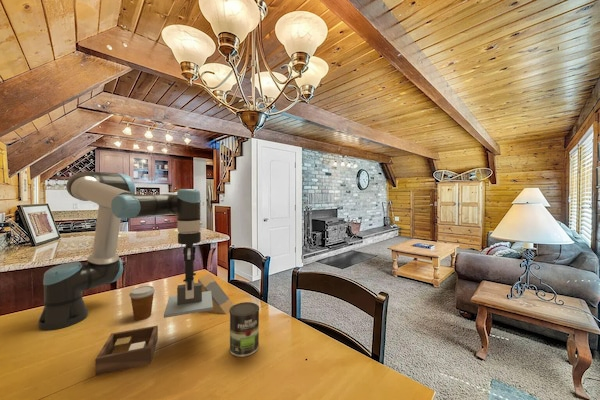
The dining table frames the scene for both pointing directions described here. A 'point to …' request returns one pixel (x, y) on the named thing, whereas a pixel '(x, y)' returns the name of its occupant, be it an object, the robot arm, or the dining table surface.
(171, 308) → the lid
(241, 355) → the coffee can
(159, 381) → the dining table surface
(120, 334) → the box
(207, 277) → the sandwich container
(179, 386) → the dining table surface
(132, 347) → the off-white block
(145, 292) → the disposable coffee cup
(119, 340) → the brass block
